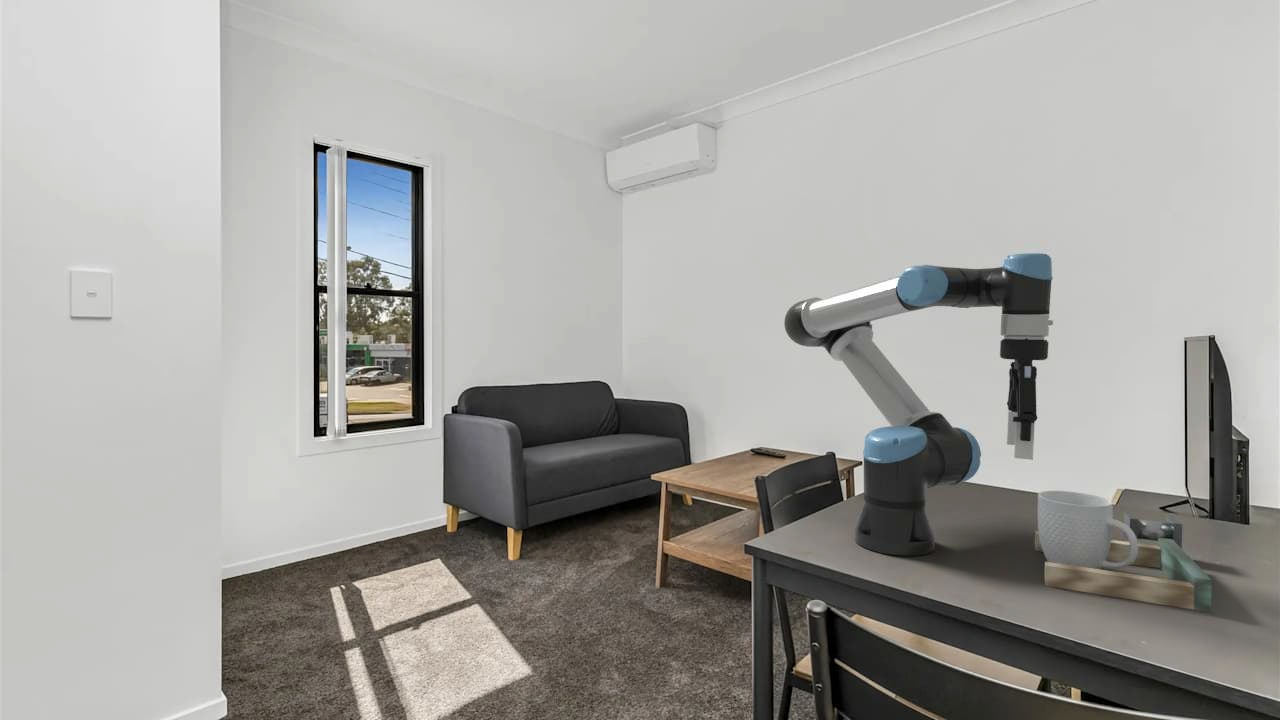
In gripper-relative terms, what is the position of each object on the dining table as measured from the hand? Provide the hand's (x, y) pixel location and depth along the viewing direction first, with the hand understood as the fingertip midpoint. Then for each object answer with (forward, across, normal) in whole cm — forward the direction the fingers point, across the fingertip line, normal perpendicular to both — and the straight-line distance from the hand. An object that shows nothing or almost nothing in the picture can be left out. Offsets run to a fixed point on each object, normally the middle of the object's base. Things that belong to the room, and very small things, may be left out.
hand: (1018, 451), depth 113 cm
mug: (+20, -2, -10) cm, 23 cm away
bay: (+20, -2, -14) cm, 25 cm away
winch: (+20, +12, -24) cm, 34 cm away
